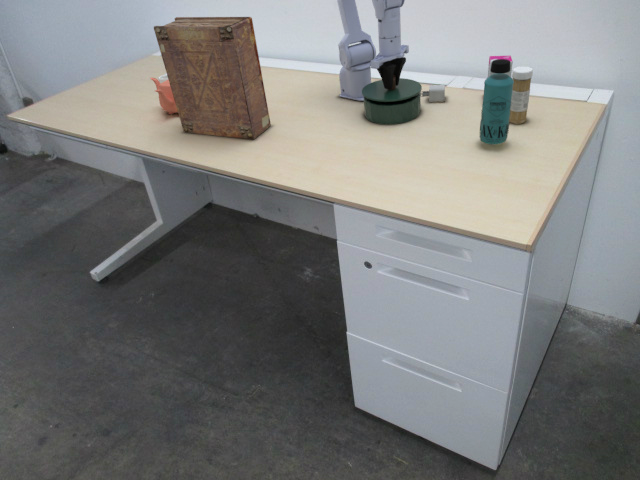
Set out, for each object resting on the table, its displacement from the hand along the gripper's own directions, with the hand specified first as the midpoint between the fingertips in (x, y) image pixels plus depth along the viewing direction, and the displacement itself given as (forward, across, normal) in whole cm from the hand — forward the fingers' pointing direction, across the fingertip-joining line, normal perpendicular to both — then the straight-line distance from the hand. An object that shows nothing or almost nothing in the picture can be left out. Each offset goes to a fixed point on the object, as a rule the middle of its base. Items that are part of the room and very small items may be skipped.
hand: (391, 86), depth 141 cm
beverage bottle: (+8, -5, -33) cm, 34 cm away
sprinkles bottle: (+8, +10, -32) cm, 35 cm away
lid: (+1, 0, 0) cm, 1 cm away
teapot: (+8, -29, +63) cm, 70 cm away
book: (+8, -31, +37) cm, 49 cm away
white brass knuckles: (+8, -9, +89) cm, 90 cm away
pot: (+8, 0, 0) cm, 8 cm away
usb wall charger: (+8, +13, -5) cm, 16 cm away
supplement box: (+8, +21, -21) cm, 31 cm away
